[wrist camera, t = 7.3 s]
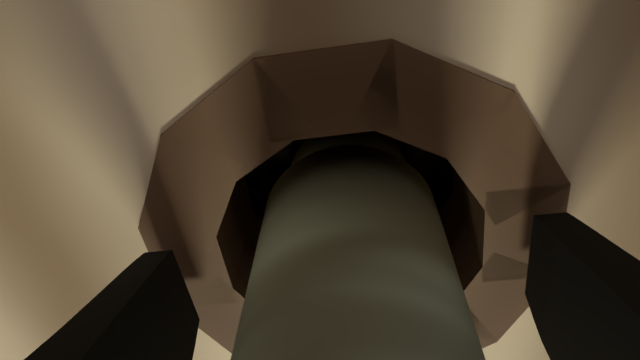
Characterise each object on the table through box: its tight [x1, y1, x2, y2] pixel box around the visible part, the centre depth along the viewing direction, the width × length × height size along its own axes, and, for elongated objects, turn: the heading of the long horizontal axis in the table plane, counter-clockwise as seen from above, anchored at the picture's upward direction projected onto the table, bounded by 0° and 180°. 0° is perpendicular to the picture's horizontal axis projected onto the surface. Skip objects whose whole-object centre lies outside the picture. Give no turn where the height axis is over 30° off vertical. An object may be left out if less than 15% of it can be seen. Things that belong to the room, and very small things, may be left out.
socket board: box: [0, 0, 640, 360], centre depth 11 cm, size 20×12×3 cm, turn 98°
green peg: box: [231, 131, 486, 360], centre depth 9 cm, size 4×4×8 cm
